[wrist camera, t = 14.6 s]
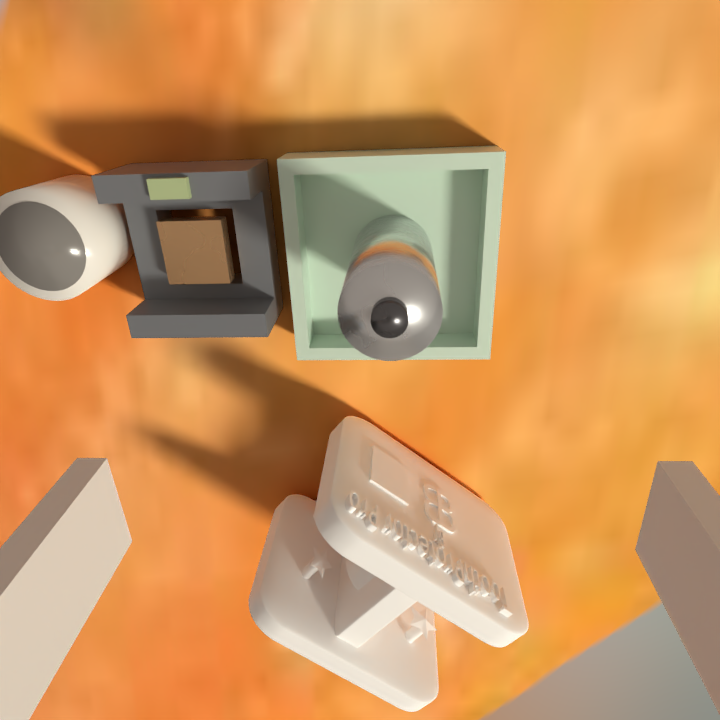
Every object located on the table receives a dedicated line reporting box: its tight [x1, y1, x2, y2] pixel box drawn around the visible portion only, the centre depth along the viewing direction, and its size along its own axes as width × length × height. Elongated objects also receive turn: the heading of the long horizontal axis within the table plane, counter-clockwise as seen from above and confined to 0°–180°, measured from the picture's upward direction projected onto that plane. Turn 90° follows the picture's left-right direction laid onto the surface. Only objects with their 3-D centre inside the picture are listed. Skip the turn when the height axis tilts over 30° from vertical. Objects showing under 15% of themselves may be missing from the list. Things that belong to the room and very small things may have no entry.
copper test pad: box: [156, 216, 235, 284], centre depth 31 cm, size 4×4×1 cm
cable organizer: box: [249, 416, 528, 712], centre depth 37 cm, size 15×11×12 cm
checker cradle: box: [91, 159, 283, 338], centre depth 31 cm, size 8×9×5 cm
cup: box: [0, 174, 134, 301], centre depth 31 cm, size 6×6×5 cm
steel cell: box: [337, 215, 443, 361], centre depth 28 cm, size 5×5×10 cm
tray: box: [277, 145, 506, 360], centre depth 32 cm, size 12×12×3 cm
